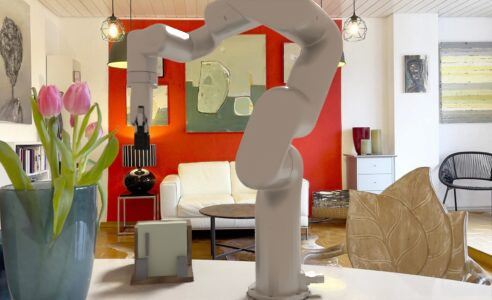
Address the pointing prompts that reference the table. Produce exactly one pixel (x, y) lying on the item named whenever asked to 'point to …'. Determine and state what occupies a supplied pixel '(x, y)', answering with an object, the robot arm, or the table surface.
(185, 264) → the hinge clips
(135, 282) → the cabinet
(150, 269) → the door
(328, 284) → the table surface
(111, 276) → the table surface
